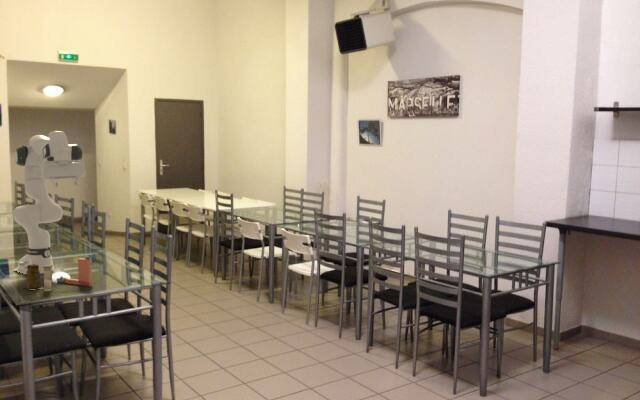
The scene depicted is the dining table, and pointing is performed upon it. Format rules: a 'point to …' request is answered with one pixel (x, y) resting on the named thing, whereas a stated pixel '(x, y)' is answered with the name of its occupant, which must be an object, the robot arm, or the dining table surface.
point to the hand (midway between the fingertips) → (66, 186)
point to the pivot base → (61, 280)
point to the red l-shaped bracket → (82, 273)
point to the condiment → (33, 277)
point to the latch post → (48, 277)
